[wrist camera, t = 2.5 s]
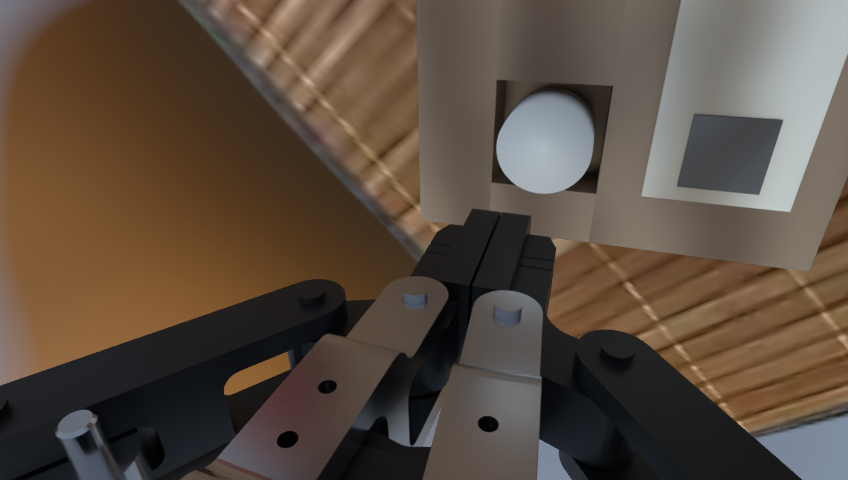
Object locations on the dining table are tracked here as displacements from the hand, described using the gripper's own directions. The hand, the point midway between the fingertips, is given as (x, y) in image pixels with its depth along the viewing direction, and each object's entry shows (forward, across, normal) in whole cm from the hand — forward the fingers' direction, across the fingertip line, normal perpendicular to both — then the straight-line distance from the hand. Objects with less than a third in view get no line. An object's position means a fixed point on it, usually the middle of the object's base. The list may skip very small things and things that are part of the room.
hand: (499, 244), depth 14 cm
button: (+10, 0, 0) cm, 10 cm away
